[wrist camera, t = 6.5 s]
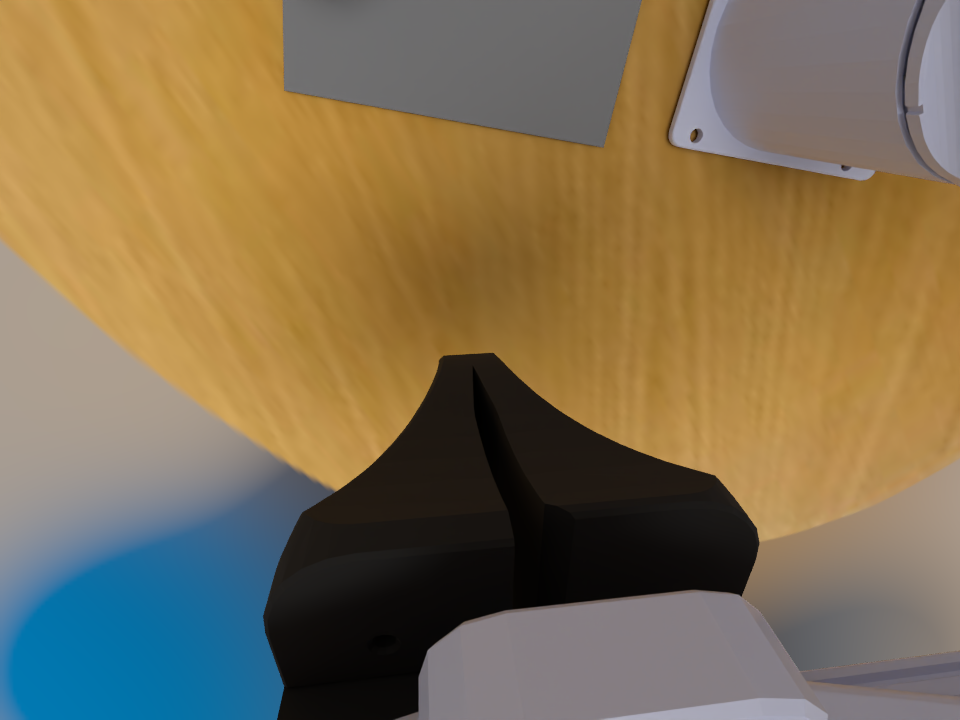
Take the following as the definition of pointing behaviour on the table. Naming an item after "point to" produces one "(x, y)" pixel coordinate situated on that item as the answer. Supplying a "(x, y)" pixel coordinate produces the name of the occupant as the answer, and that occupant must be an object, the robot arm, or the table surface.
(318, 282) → the table surface
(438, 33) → the gray mat
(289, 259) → the table surface
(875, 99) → the robot arm
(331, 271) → the table surface
